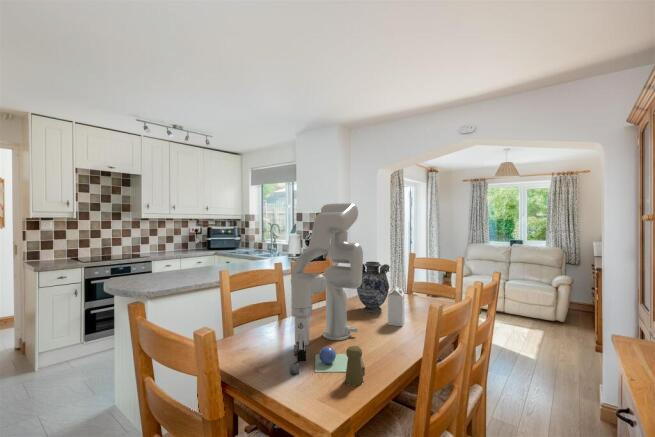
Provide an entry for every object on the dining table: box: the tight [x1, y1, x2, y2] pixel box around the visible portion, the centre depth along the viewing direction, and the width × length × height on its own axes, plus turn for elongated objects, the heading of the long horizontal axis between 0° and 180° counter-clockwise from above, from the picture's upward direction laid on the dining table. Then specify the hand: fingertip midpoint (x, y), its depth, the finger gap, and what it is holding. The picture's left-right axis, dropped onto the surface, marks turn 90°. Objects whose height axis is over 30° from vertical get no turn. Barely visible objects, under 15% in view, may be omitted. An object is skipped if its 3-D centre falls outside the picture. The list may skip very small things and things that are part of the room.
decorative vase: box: [356, 261, 391, 314], centre depth 180 cm, size 21×19×28 cm
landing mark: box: [314, 353, 348, 373], centre depth 114 cm, size 14×14×1 cm
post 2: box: [289, 360, 300, 377], centre depth 106 cm, size 3×3×4 cm
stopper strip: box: [357, 345, 366, 376], centre depth 114 cm, size 2×18×2 cm, turn 1°
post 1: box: [293, 344, 298, 357], centre depth 121 cm, size 3×3×4 cm
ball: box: [319, 346, 337, 364], centre depth 113 cm, size 6×6×6 cm
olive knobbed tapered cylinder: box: [344, 345, 364, 387], centre depth 101 cm, size 6×6×11 cm
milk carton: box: [387, 285, 405, 327], centre depth 157 cm, size 7×7×19 cm
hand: (301, 360), depth 114 cm, fingers closed
